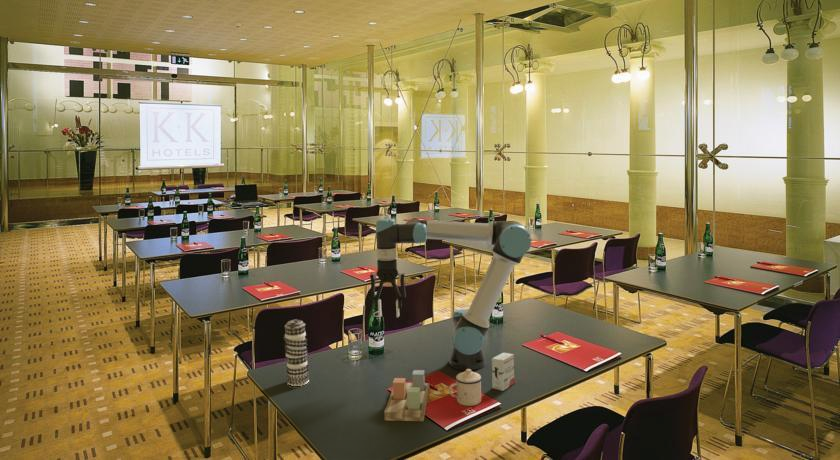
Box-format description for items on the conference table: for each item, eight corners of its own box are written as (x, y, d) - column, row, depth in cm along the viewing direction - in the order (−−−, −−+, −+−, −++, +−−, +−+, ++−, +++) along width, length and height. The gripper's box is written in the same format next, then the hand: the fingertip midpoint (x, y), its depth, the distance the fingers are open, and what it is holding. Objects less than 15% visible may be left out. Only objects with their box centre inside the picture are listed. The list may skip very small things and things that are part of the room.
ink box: (503, 380, 216) (503, 351, 215) (514, 383, 213) (514, 354, 212) (491, 388, 210) (491, 357, 208) (502, 391, 207) (502, 360, 205)
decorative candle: (289, 378, 225) (285, 318, 222) (312, 377, 225) (309, 317, 221) (283, 387, 216) (279, 325, 212) (307, 387, 216) (303, 324, 212)
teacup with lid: (475, 393, 205) (475, 363, 204) (485, 404, 197) (485, 372, 195) (445, 398, 202) (444, 368, 200) (454, 409, 193) (453, 377, 192)
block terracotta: (406, 394, 200) (405, 378, 199) (404, 399, 196) (404, 382, 195) (395, 394, 200) (394, 378, 199) (393, 399, 196) (392, 382, 195)
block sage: (420, 404, 192) (420, 387, 191) (419, 409, 188) (418, 392, 187) (409, 404, 192) (408, 387, 191) (407, 409, 188) (406, 392, 187)
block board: (429, 390, 209) (429, 383, 209) (423, 421, 186) (423, 412, 185) (395, 390, 211) (395, 382, 210) (384, 420, 187) (384, 411, 187)
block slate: (424, 386, 206) (424, 370, 206) (423, 390, 203) (423, 374, 202) (414, 386, 207) (413, 370, 206) (412, 390, 203) (412, 374, 202)
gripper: (360, 260, 214) (362, 319, 217) (410, 260, 212) (412, 319, 215) (364, 257, 221) (366, 313, 225) (412, 256, 219) (414, 313, 222)
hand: (389, 316), depth 220 cm, fingers open, 6 cm apart
